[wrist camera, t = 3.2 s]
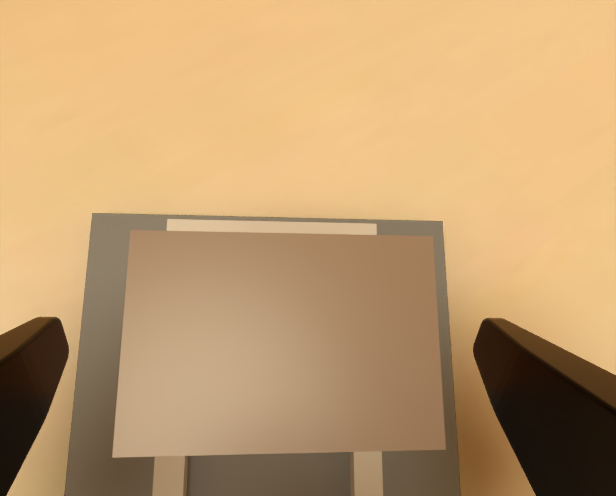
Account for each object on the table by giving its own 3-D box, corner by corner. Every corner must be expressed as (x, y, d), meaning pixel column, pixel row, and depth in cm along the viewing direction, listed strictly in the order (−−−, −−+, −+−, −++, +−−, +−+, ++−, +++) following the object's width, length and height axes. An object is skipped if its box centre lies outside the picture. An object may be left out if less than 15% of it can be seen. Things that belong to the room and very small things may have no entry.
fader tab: (334, 388, 17) (445, 449, 7) (206, 389, 17) (112, 456, 6) (333, 302, 18) (432, 236, 7) (210, 301, 18) (130, 230, 7)
